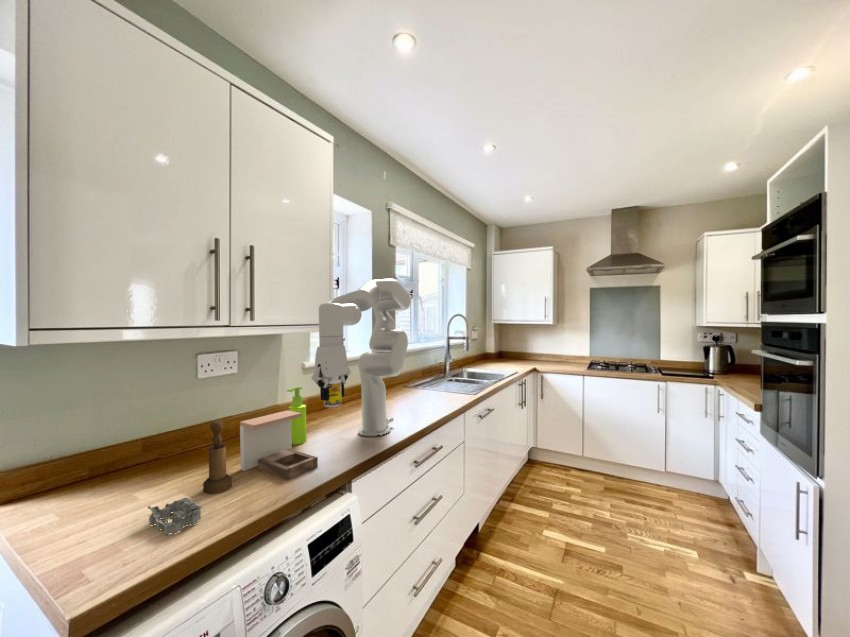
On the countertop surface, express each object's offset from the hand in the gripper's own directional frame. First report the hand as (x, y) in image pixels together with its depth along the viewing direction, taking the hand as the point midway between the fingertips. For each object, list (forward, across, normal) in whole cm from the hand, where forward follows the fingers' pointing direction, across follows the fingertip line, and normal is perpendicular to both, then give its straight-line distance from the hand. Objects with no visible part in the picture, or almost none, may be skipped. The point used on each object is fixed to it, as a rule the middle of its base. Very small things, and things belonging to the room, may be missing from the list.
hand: (332, 397), depth 114 cm
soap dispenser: (+20, -3, -24) cm, 31 cm away
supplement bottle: (+3, 0, 0) cm, 3 cm away
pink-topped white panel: (+19, +13, -14) cm, 27 cm away
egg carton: (+20, +44, -1) cm, 48 cm away
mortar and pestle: (+20, +31, -10) cm, 38 cm away
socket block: (+19, +13, -6) cm, 24 cm away
